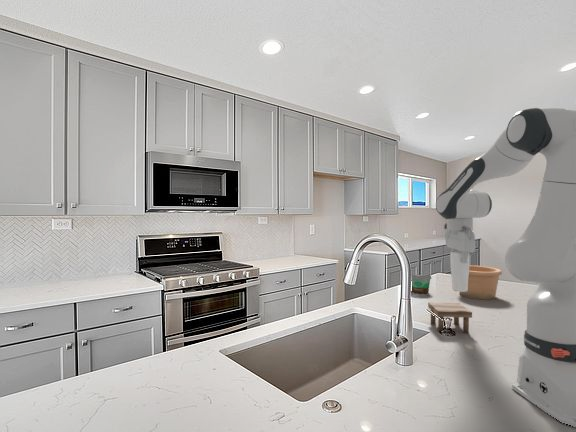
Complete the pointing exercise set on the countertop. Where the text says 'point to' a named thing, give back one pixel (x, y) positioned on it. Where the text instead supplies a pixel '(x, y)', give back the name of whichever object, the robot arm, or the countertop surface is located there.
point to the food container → (420, 284)
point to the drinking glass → (459, 271)
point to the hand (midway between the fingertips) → (459, 261)
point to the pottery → (482, 282)
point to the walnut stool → (450, 314)
